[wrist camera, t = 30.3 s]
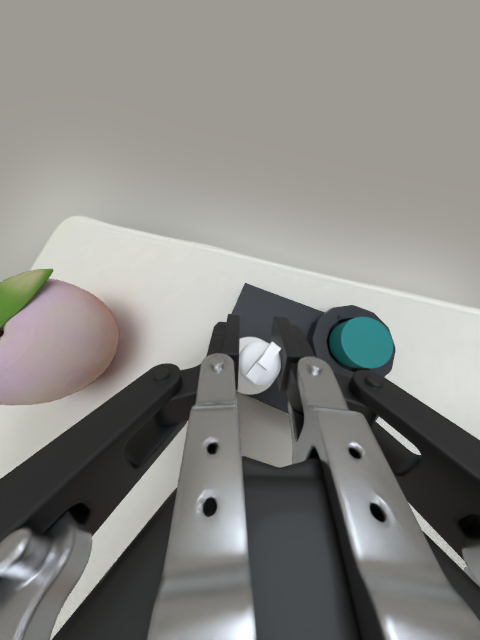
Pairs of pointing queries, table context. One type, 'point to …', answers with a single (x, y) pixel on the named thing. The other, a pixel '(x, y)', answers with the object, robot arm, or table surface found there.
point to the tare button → (361, 343)
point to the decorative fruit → (51, 338)
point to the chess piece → (257, 365)
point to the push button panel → (315, 325)
